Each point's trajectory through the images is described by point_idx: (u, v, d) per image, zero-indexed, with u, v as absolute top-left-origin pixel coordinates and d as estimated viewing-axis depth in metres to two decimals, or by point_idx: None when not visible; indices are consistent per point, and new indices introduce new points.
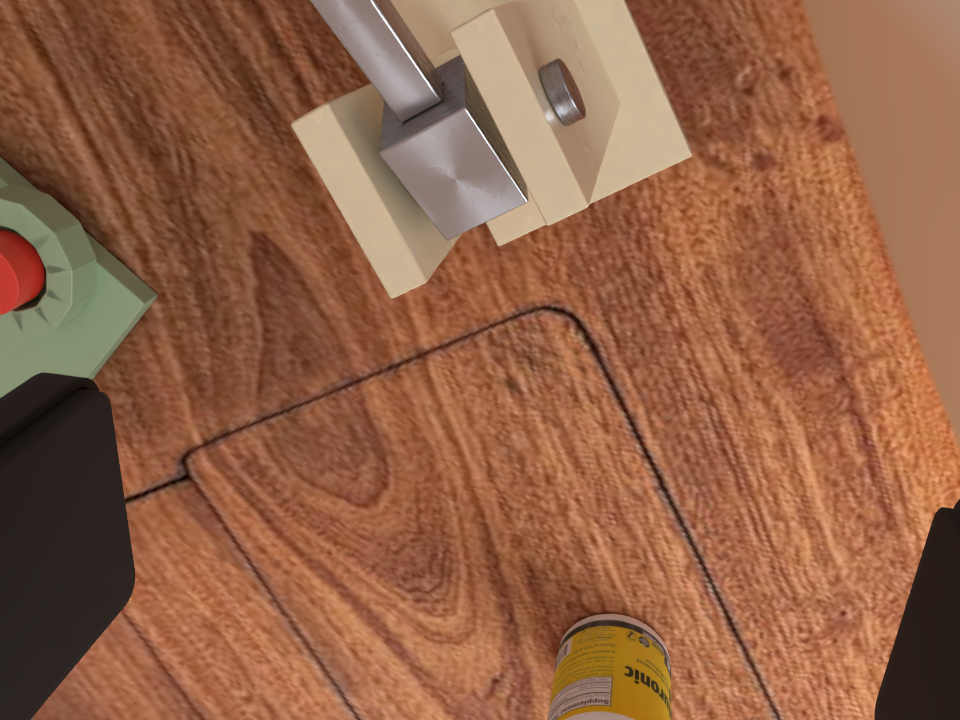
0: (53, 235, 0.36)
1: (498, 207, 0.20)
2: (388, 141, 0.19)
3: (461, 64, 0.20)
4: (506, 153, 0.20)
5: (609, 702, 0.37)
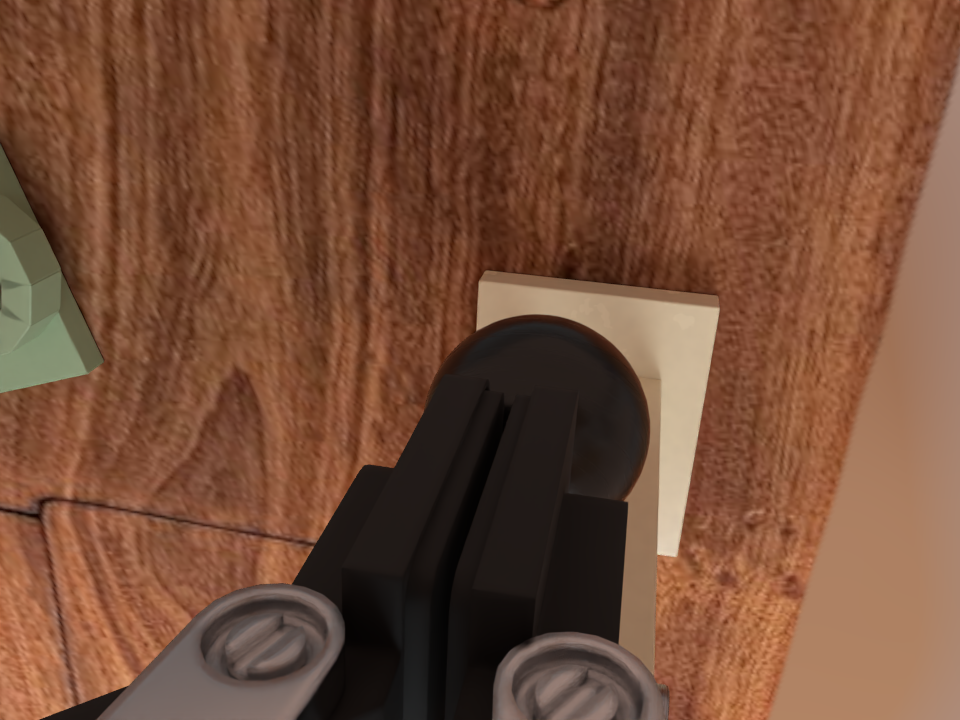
0: (28, 286, 0.32)
1: None
2: None
3: None
4: None
5: None
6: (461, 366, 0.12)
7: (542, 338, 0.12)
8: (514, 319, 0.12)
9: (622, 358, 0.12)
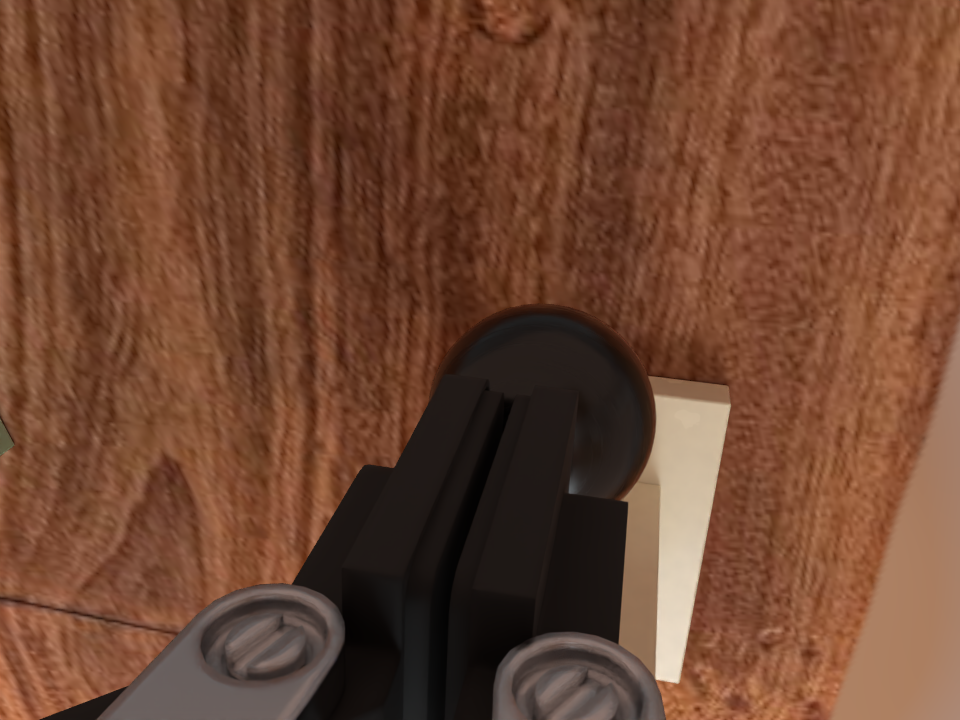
0: None
1: None
2: None
3: None
4: None
5: None
6: (477, 325, 0.12)
7: (556, 305, 0.12)
8: None
9: None
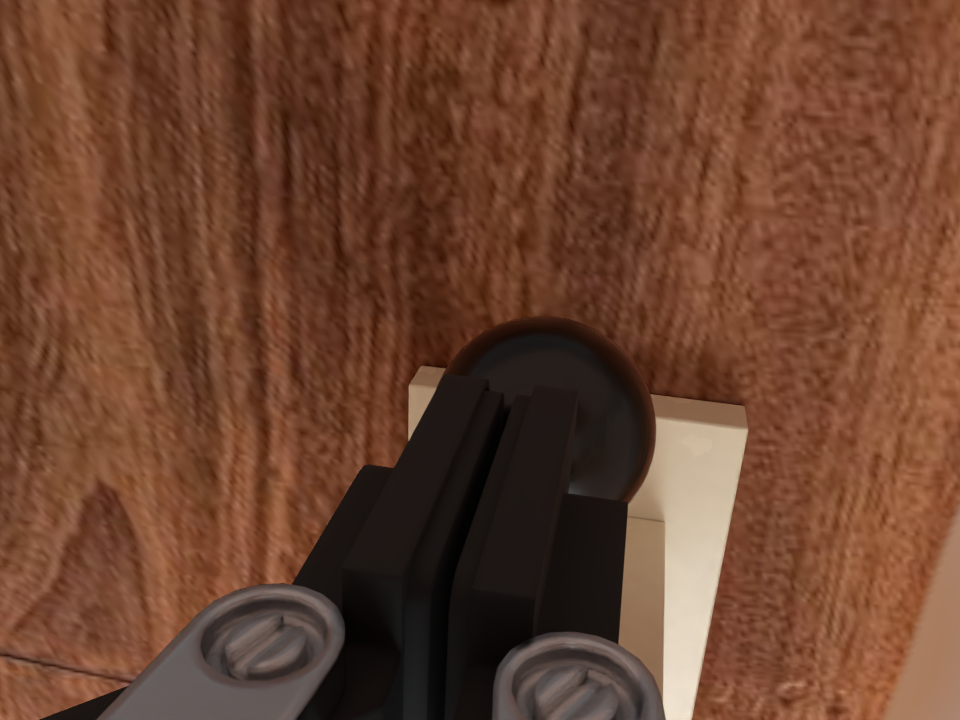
0: None
1: None
2: None
3: None
4: None
5: None
6: None
7: None
8: None
9: None
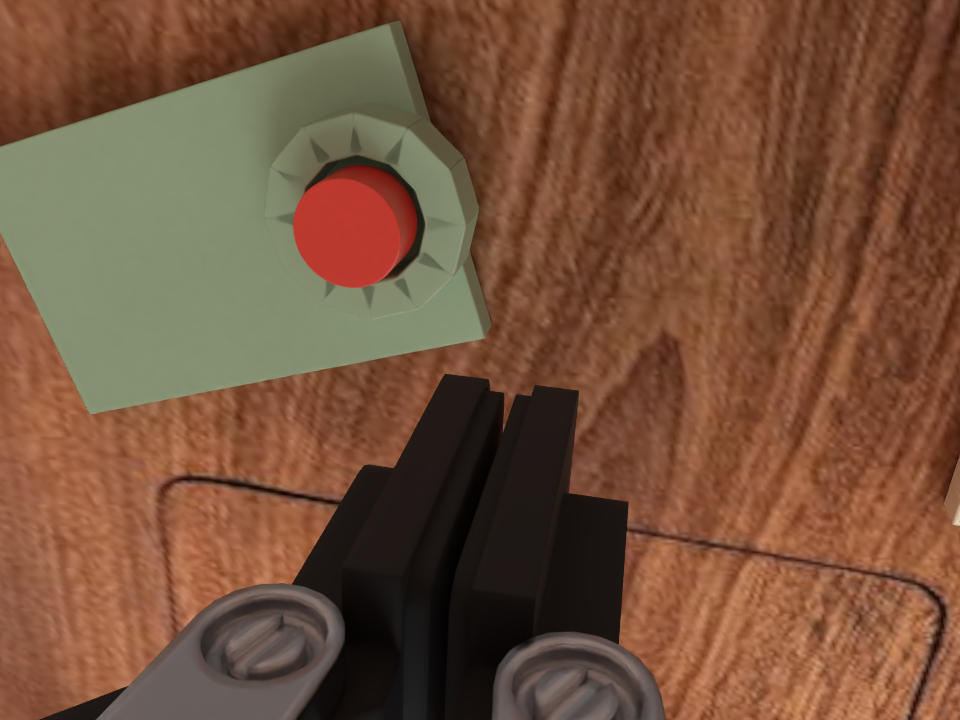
0: (462, 226, 0.26)
1: None
2: None
3: None
4: None
5: None
6: None
7: None
8: None
9: None
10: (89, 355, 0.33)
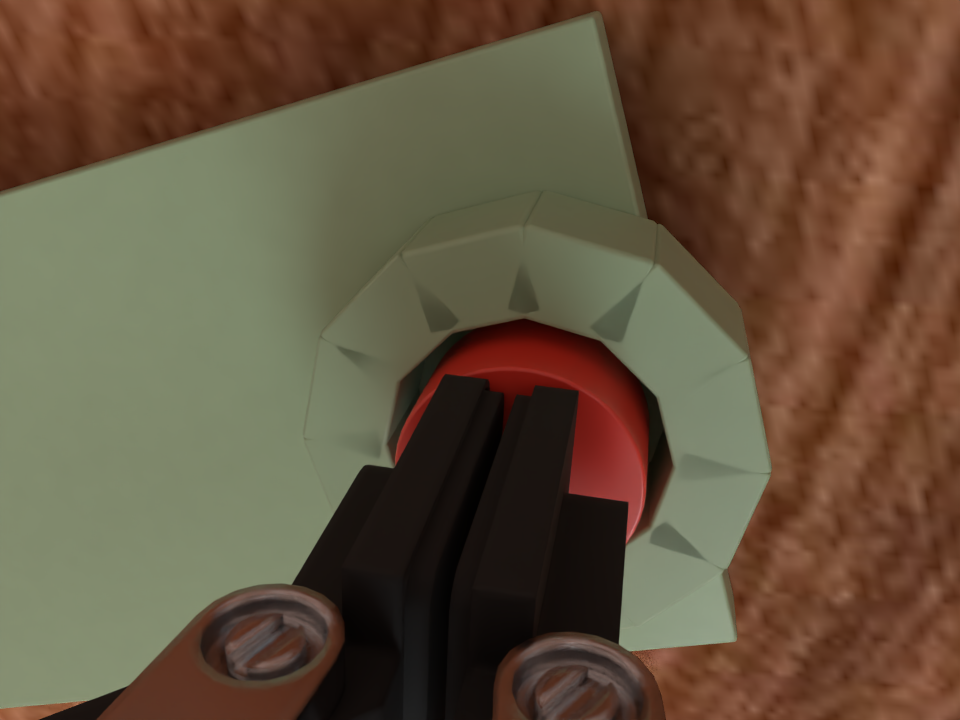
0: (760, 476, 0.11)
1: None
2: None
3: None
4: None
5: None
6: None
7: None
8: None
9: None
10: None
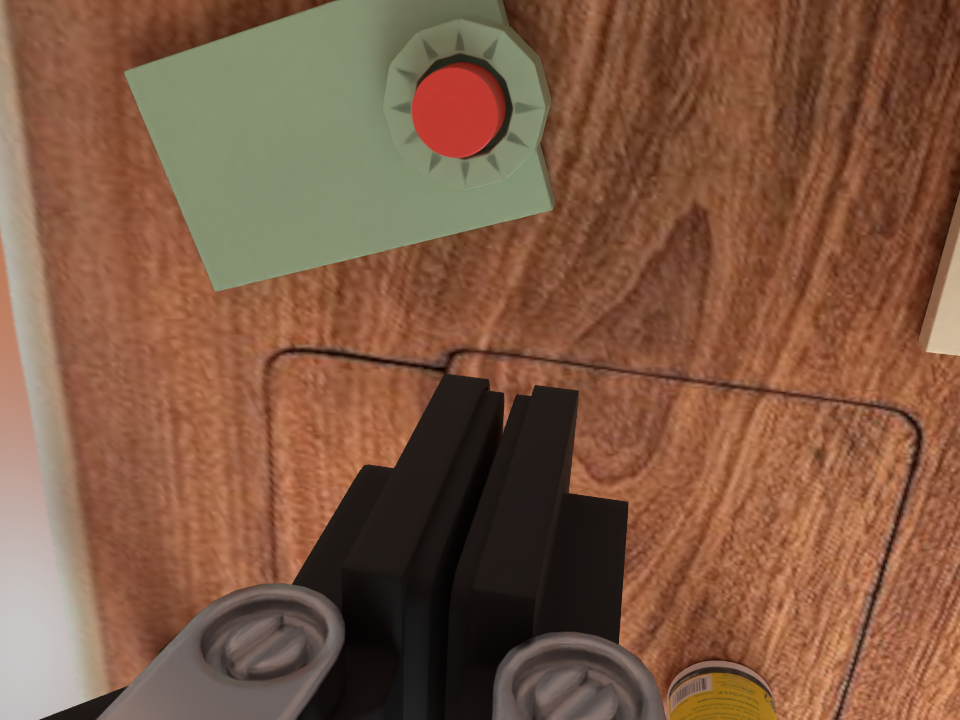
0: (542, 109, 0.33)
1: None
2: None
3: None
4: None
5: None
6: None
7: None
8: None
9: None
10: (219, 238, 0.39)
